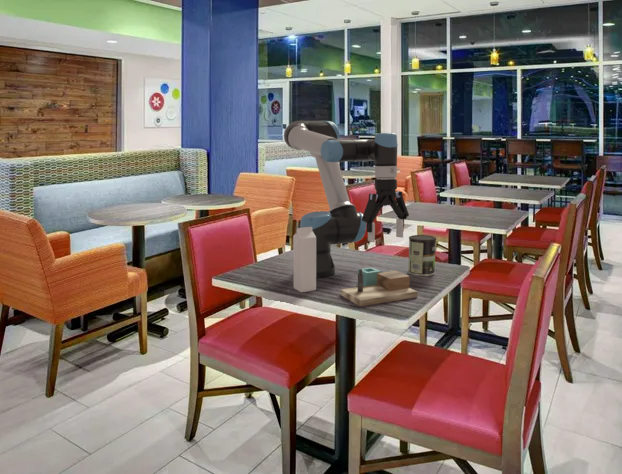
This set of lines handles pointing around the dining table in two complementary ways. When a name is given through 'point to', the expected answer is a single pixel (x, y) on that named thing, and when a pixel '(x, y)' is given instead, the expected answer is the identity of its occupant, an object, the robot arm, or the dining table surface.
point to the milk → (304, 259)
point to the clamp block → (393, 280)
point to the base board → (375, 293)
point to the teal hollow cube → (369, 276)
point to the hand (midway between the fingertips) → (385, 239)
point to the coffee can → (422, 255)
